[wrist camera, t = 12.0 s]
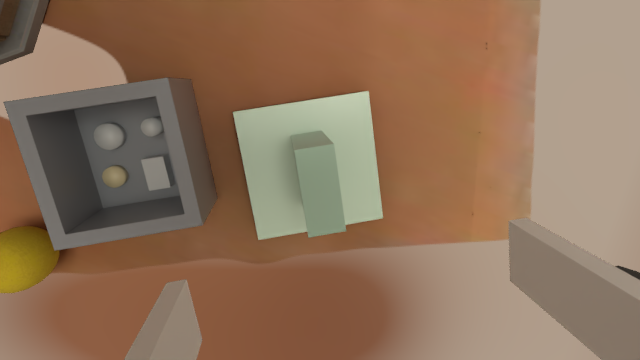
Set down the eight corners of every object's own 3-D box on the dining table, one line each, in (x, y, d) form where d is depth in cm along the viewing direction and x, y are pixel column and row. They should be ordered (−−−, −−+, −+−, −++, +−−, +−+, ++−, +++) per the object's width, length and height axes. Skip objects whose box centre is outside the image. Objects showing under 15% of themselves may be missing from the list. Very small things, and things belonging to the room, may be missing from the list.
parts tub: (62, 98, 36) (3, 101, 29) (191, 79, 37) (167, 77, 29) (98, 218, 39) (54, 250, 32) (217, 198, 40) (202, 225, 32)
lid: (235, 110, 38) (217, 120, 28) (364, 90, 39) (395, 92, 29) (259, 232, 42) (252, 283, 31) (378, 212, 42) (411, 254, 32)
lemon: (9, 219, 39) (-59, 252, 31) (67, 212, 39) (14, 243, 31) (25, 269, 40) (-37, 314, 32) (80, 262, 40) (33, 304, 33)
